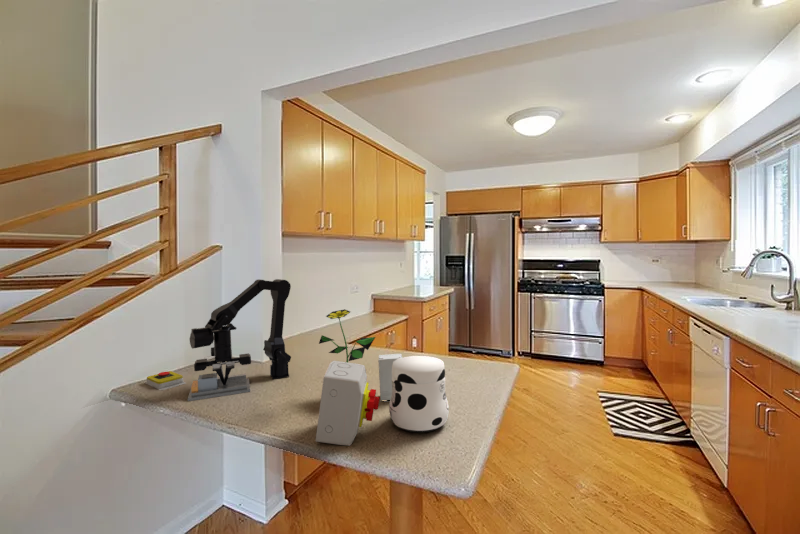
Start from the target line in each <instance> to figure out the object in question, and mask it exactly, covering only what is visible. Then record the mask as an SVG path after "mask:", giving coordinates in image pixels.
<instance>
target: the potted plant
mask: <svg viewBox="0 0 800 534" xmlns="http://www.w3.org/2000/svg"><path fill="white" fill-rule="evenodd" d="M350 313H351V311H350V310H348V309H340V310H335V311H331V312H330V313H328V314H327V315H325V317H326V318H328V319H330V320H333V319H338V321H339V326H340V328H341V332H342V333H341V334H342V336H343V340H344V343H345V345H344V346H339V345H338V344H337V343H336V342H335V341H334V339H333V338H330V337H327V336H325V335H321V336H320V339H319V341H318V344H325V343H327V342H332V344H334V345H335V346H336V347H335V348H333V349H332V350H330V351H329V352H328V354H336V355H337V354H340V353H341V352H344V350H345V353H346V355H345V356H346V362H348V363H349V362H351V361H354V360H359V359H363V357H364V355H365V354H364V353H365V350H367V351H368V350H369V349H370V347H371V346H372V344H373V342H374V340H375V339H376V336H373V337H372V336H371V337H361V338H360V339H357V340H355V344H354V345H353V347H352V348H351V350H350V352H349V351H348V349H349V347H348V345H347V340H346V335H345V334H344V329H343V326H342V322H341V318H345V317H346V316H348V315H349V314H350ZM356 344H358V345H360V347H358V348H355V346H356ZM354 348H355V349H354ZM365 370H366V371H367V369H366V368H365Z"/></svg>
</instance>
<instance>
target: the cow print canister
mask: <svg viewBox="0 0 800 534" xmlns="http://www.w3.org/2000/svg"><path fill="white" fill-rule="evenodd" d="M444 362H445V361H443V360H442V359H440V358H437V357H435V356H434V357H433V356H428V355H426V356H425V355H410V356H404V357H403V356H402V358H399V359H397V360H395V361H394V362H393V365H392V395H391V399H390V401H389V403H388V404H389V405H388V407H389V408H388V410H389V417H390V421H391V422H392V423H393V425H394V426H396V427H397V428H399V429H400V430H403V431H405V432H410V433H411V432H412V433H429V432H432V431H433V432H434V431H436V430H439V429H440V428H442V427H443V426H444V425H445V424H446V422H447V421H448V418H449V410H450V409H449V408H450V407H449V400H448V398H447V393H446V369H445V363H444Z"/></svg>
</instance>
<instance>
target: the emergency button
mask: <svg viewBox="0 0 800 534" xmlns="http://www.w3.org/2000/svg"><path fill="white" fill-rule="evenodd" d="M144 384H145V385H148V386H150V387H152V388H155V389H156V390H158V391H165V390H168V389H172V388H176V387H179V385H180V386H183V385H186V384H187V382H185V381H184V376H183V375H182V374H180V373H177V372H174V371H172V370H168V371H161V372H159V373H157V374H153V375H150V376H147V377H146V382H145V383H144Z"/></svg>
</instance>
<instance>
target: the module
mask: <svg viewBox="0 0 800 534" xmlns="http://www.w3.org/2000/svg"><path fill="white" fill-rule="evenodd" d="M217 377H218V374H217V372H211V373H205V374H199V375H198V378H197V380H198V392H199V391H206V390H213V389H217V388H218V382H217Z"/></svg>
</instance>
